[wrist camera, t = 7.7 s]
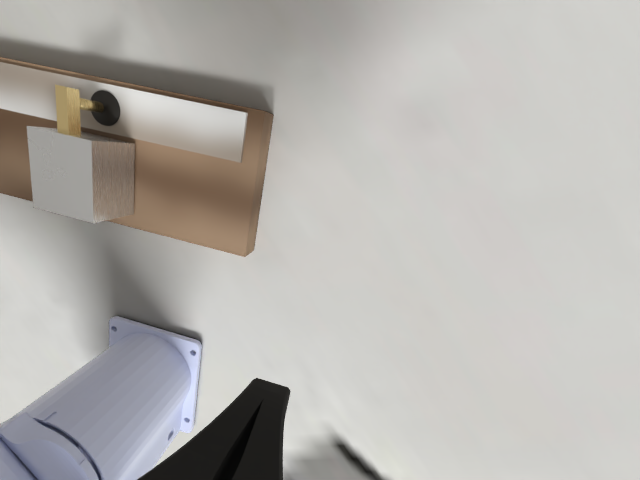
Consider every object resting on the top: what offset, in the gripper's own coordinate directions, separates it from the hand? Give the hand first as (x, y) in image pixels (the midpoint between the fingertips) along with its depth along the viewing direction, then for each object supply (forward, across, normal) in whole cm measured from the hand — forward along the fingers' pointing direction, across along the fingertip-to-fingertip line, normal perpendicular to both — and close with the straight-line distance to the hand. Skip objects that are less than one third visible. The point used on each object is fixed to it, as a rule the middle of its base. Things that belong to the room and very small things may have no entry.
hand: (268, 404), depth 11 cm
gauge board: (+10, +18, -6) cm, 22 cm away
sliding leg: (+9, +15, -6) cm, 18 cm away
